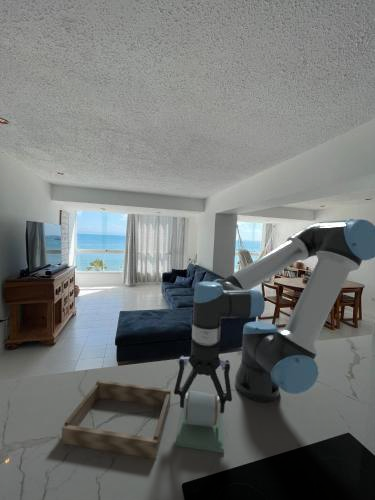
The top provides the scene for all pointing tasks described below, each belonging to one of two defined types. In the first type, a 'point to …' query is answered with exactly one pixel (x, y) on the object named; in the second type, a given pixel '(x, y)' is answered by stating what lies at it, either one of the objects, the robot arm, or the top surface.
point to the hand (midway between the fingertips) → (201, 420)
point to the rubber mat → (200, 436)
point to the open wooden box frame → (113, 439)
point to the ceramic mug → (202, 409)
